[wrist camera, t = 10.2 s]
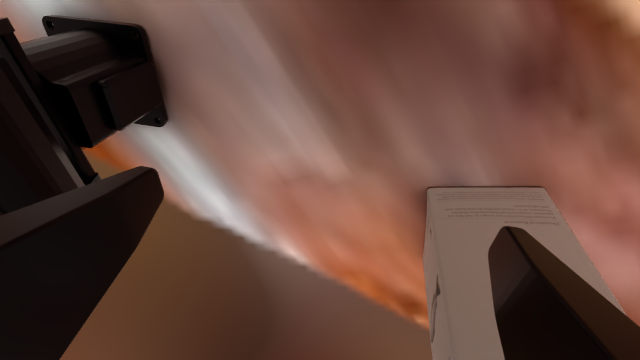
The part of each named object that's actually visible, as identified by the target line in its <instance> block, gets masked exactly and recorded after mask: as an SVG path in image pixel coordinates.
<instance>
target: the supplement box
mask: <svg viewBox="0 0 640 360" xmlns="http://www.w3.org/2000/svg"><path fill="white" fill-rule="evenodd" d="M503 226H512V227H518V228H522V229H524V230H525V231H527V232H528V233H529V234H530V235H531V236H533V237H534V238H535V239H536V240H537V241H539V242H540V243H541V244H542V245H543V246H544V247H546V248H547V249H548V250H549V251H550V252H552V253H553V254H554V255H555V256H556V257H558V258H559V259H560V260H561V261H562V262H563V263H565V264H566V265H567V266H568V267H569V268H571V269H572V270H573V271H574V272H575V273H577V274H578V275H579V276H580V277H581V278H582V279H584V280H585V281H586V282H587V283H588V284H590V285H591V286H592V287H593V288H594V289H596V290H597V291H598V292H599V293H600V294H601V295H603V296H604V297H605V298H606V299H607V300H609V301H610V302H611V303H612V304H613V305H615V306H616V307H617V308H618V309H619V310H621V311H622V312H623V313H624V314H625V315H626V313H625V312H624V310H623V309H622V307H621V306H620V304H619V303H618V301H617V300H616V298H615V296H614V295H613V293H612V292H611V290H610V289H609V287H608V286H607V284H606V283H605V281H604V279H603V278H602V276H601V275H600V273H599V272H598V270H597V269H596V267H595V265H594V264H593V262H592V261H591V259H590V258H589V256H588V255H587V253H586V252H585V250H584V249H583V247H582V246H581V244H580V243H579V241H578V239H577V238H576V236H575V235H574V233H573V232H572V230H571V229H570V227H569V226H568V224H567V223H566V221H565V219H564V218H563V216H562V215H561V213H560V212H559V210H558V209H557V207H556V206H555V204H554V203H553V201H552V199H551V198H550V196H549V195H548V193H547V192H546V190H545V188H527V187H519V188H518V187H511V188H510V187H507V188H503V187H489V188H487V187H468V188H463V187H457V188H446V187H444V188H429V189H428V190H427V217H426V231H425V242H424V251H423V266H424V276H425V286H426V297H427V307H428V317H429V327H430V337H431V346H432V355H433V360H505V358H504V354H503V350H502V345H501V341H500V337H499V333H498V328H497V324H496V319H495V314H494V307H493V298H492V289H491V281H490V272H489V263H488V251H489V248H490V246H491V244H492V242H493V241H494V239H495V237H496V235H497V234H498V232H499V230H500V229H501V228H502V227H503ZM626 316H627V315H626Z"/></svg>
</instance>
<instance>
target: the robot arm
mask: <svg viewBox="0 0 640 360" xmlns="http://www.w3.org/2000/svg"><path fill="white" fill-rule="evenodd" d="M42 22H43V25H44V28H45V30H46V32H47V35H48V37H44V38H40V39H36V40H31V41H27V42H23V43H19V41H18V40H17V38H16V36H15V35H14V33H13V32H14V31H15V30H14V28H13V26H12V25H11V23H10V21H9V19H8V18H0V360H60V358H61V357H62V355H63V354H64V352H65V351H66V349H67V348H68V347H69V345H70V344H71V342H72V341H73V339H74V338H75V336H76V335H77V334H78V332H79V331H80V329H81V328H82V326H83V325H84V323H85V322H86V320H87V319H88V317H89V316H90V315H91V313H92V312H93V310H94V309H95V307H96V306H97V304H98V303H99V302H100V300H101V299H102V297H103V296H104V294H105V293H106V291H107V290H108V288H109V287H110V286H111V284H112V283H113V281H114V280H115V278H116V277H117V275H118V274H119V273H120V271H121V270H122V268H123V267H124V265H125V264H126V262H127V261H128V259H129V258H130V257H131V255H132V254H133V252H134V251H135V249H136V248H137V246H138V244H139V242H140V241H141V239H142V237H143V235H144V234H145V232H146V230H147V228H148V226H149V224H150V223H151V221H152V219H153V217H154V215H155V213H156V211H157V210H158V208H159V206H160V204H161V203H162V200H163V197H164V191H163V187H162V184H161V181H160V178H159V175H158V172H157V171H156V170H155V169H154V168H149V167H143V166H139V167H136V168H133V169H130V170H127V171H124V172H122V173H119V174H116V175H113V176H110V177H108V178H105V179H102V180H101V178H100V176H99V174H98V173H96V172H95V171H94V170H93V168H92V166H91V164H90V163H89V161H88V159H87V157H86V156H85V154H84V152H83V151H82V150H83V149H85V148H93V147H94V146H96V145H97V144H99V143H100V142H102V141H103V140H105V139H106V138H108V137H110V136H111V135H113V134H114V133H116V132H117V131H121V130H123V129H125V128H126V127H128V126H130V125H131V124H133V123H135V124H141V125H148V126H155V127H162V126H164V125H165V124H166V123H167V116H166V112H165V108H164V104H163V99H162V96H161V92H160V88H159V84H158V80H157V76H156V72H155V68H154V65H153V61H152V57H151V53H150V49H149V45H148V41H147V37H146V34H145V31H144V30H143V29H142V27H140V26H139V25H136V24H128V23H119V22H110V21H101V20H92V19H83V18H74V17H65V16H57V15H49V16H44V17H43V18H42ZM52 23H53V24H52ZM53 25H54V26H53ZM134 31H135V32H136V33H137V35H138V38H137V37H136V36H135V34H134ZM158 118H159V119H160V121H159V120H158ZM488 263H489V272H490V281H491V289H492V298H493V307H494V314H495V319H496V324H497V328H498V333H499V337H500V341H501V345H502V350H503V354H504V358H505V360H640V326H638V325H637V324H636V323H635V322H634V321H632V320H631V319H630V318H629V317H628V316H626V315H625V314H624V313H623V312H622V311H621V310H619V309H618V308H617V307H616V306H615V305H613V304H612V303H611V302H610V301H609V300H607V299H606V298H605V297H604V296H603V295H601V294H600V293H599V292H598V291H597V290H596V289H594V288H593V287H592V286H591V285H590V284H588V283H587V282H586V281H585V280H584V279H582V278H581V277H580V276H579V275H578V274H577V273H575V272H574V271H573V270H572V269H571V268H569V267H568V266H567V265H566V264H565V263H563V262H562V261H561V260H560V259H559V258H558V257H556V256H555V255H554V254H553V253H552V252H550V251H549V250H548V249H547V248H546V247H544V246H543V245H542V244H541V243H540V242H539V241H537V240H536V239H535V238H534V237H533V236H531V235H530V234H529V233H528V232H527V231H525V230H524V229H522V228H518V227H512V226H503V227H502V228H501V229H500V230H499V232H498V234H497V235H496V237H495V239H494V241H493V242H492V244H491V246H490V248H489V251H488Z"/></svg>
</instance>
